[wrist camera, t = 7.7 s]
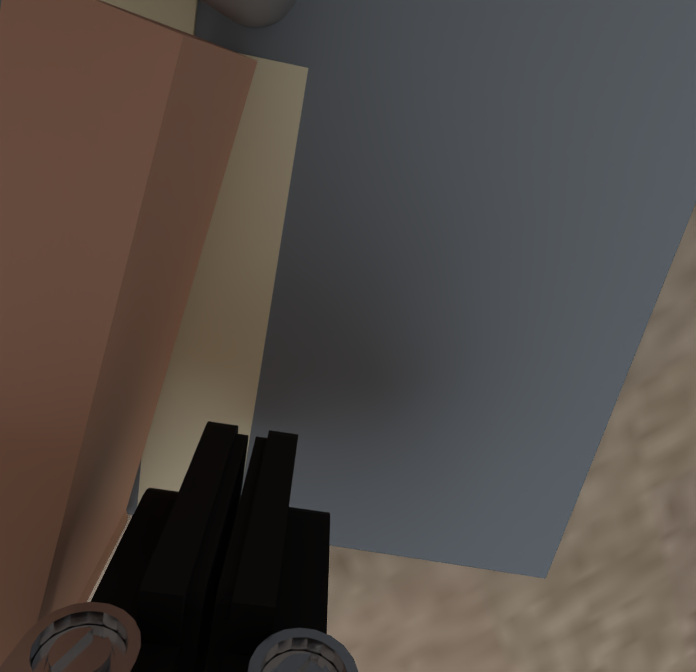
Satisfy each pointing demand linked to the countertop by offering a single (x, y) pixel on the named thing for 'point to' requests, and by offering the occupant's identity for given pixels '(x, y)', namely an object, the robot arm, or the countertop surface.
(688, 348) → the countertop surface
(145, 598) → the robot arm
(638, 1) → the board
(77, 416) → the fence panel
